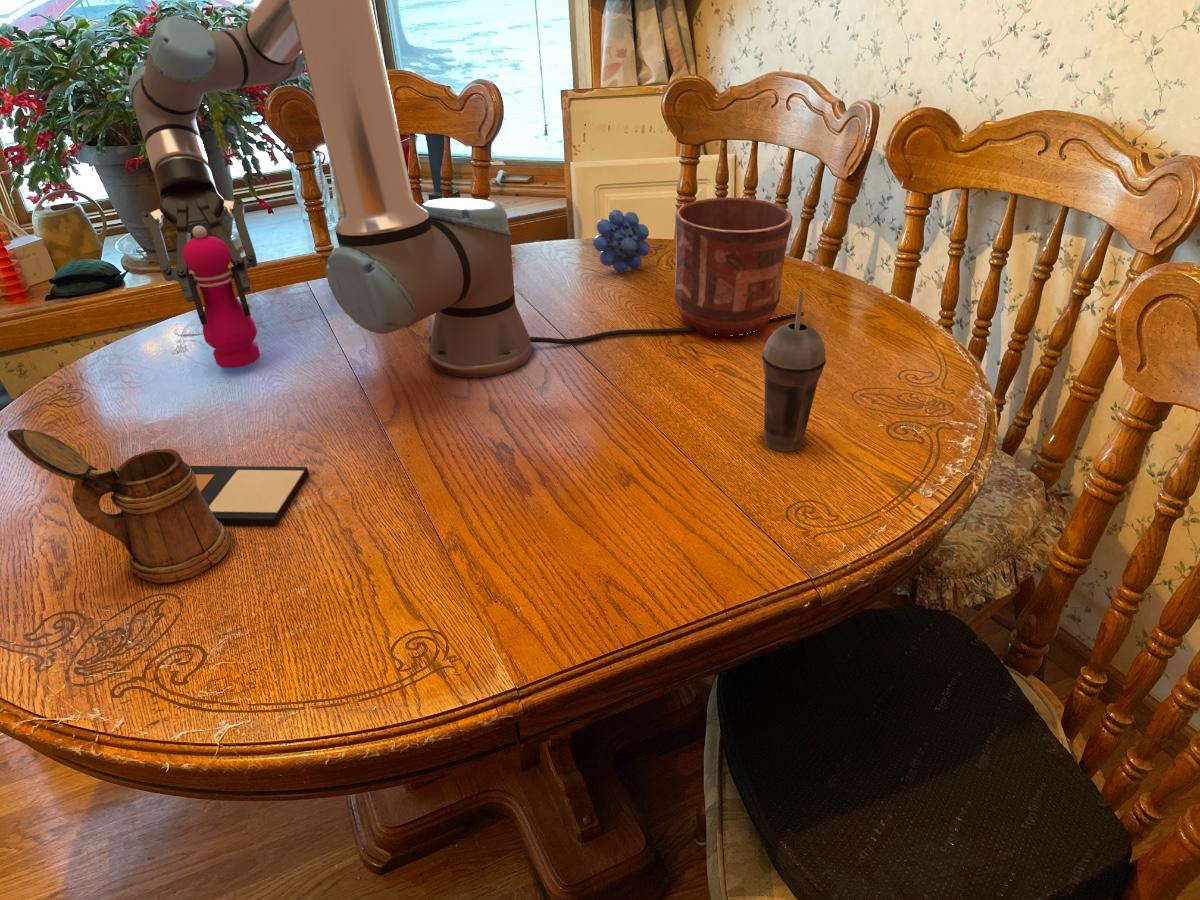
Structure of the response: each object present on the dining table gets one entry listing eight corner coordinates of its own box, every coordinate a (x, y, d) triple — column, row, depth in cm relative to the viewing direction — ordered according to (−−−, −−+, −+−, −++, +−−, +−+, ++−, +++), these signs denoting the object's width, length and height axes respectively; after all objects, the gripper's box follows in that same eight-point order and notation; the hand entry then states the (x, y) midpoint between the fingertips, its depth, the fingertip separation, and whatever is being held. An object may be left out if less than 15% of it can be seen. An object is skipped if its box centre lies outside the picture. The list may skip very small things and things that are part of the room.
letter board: (309, 473, 93) (307, 465, 92) (275, 526, 84) (273, 517, 84) (186, 472, 93) (184, 464, 93) (141, 524, 85) (138, 515, 84)
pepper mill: (246, 371, 113) (204, 234, 102) (202, 368, 114) (156, 233, 103) (273, 350, 119) (237, 219, 108) (231, 347, 120) (191, 217, 109)
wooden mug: (82, 561, 80) (6, 410, 70) (222, 517, 86) (169, 371, 76) (86, 614, 73) (2, 455, 64) (237, 562, 79) (182, 409, 69)
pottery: (796, 315, 129) (810, 205, 119) (754, 356, 116) (766, 237, 107) (700, 295, 137) (705, 191, 127) (651, 331, 125) (653, 219, 115)
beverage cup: (816, 431, 98) (839, 279, 87) (809, 462, 92) (833, 304, 81) (758, 422, 100) (774, 273, 89) (748, 452, 94) (764, 296, 84)
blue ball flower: (604, 285, 142) (603, 219, 136) (588, 273, 147) (587, 210, 141) (660, 274, 146) (661, 210, 140) (642, 263, 151) (643, 201, 145)
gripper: (250, 177, 119) (293, 314, 116) (119, 194, 113) (160, 340, 109) (245, 147, 113) (290, 291, 109) (104, 163, 106) (148, 318, 102)
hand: (225, 315), depth 109 cm, fingers closed on pepper mill, 5 cm apart
